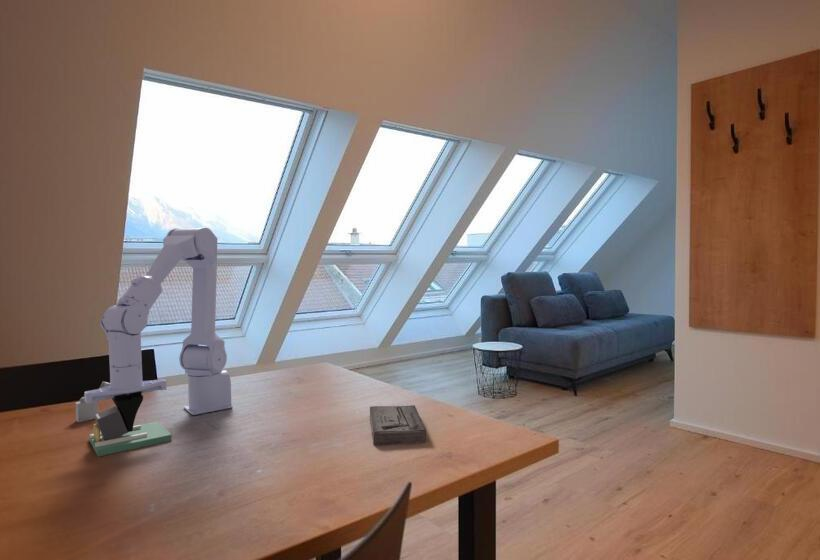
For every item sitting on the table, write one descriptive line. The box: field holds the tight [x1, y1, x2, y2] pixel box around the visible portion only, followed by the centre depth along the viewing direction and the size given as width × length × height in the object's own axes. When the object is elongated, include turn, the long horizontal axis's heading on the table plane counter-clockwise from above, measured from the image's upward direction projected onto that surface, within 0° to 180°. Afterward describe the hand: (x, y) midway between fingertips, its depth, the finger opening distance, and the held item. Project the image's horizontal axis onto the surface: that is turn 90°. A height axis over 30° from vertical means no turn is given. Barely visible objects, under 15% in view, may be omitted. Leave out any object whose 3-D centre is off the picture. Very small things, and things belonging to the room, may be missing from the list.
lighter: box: [74, 381, 111, 423], centre depth 120 cm, size 7×2×8 cm, turn 141°
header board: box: [88, 420, 173, 457], centre depth 105 cm, size 13×11×4 cm
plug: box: [94, 405, 128, 441], centre depth 103 cm, size 4×4×5 cm
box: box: [369, 404, 427, 446], centre depth 111 cm, size 11×17×3 cm, turn 7°
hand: (128, 430), depth 105 cm, fingers closed
